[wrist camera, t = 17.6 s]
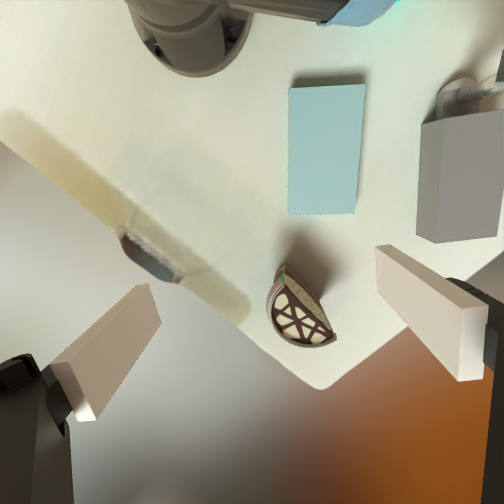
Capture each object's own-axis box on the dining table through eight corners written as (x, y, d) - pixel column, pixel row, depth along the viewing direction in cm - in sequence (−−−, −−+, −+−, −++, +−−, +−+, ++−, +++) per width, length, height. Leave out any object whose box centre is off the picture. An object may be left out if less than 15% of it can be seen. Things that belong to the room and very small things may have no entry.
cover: (288, 94, 37) (289, 88, 34) (357, 90, 36) (365, 84, 33) (287, 211, 42) (289, 215, 39) (348, 210, 41) (354, 213, 39)
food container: (251, 280, 46) (247, 310, 36) (277, 257, 44) (281, 283, 35) (297, 326, 48) (305, 365, 38) (324, 306, 46) (339, 342, 37)
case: (423, 86, 35) (447, 74, 31) (487, 75, 34) (522, 61, 30) (416, 234, 42) (435, 243, 37) (469, 228, 41) (496, 236, 36)
